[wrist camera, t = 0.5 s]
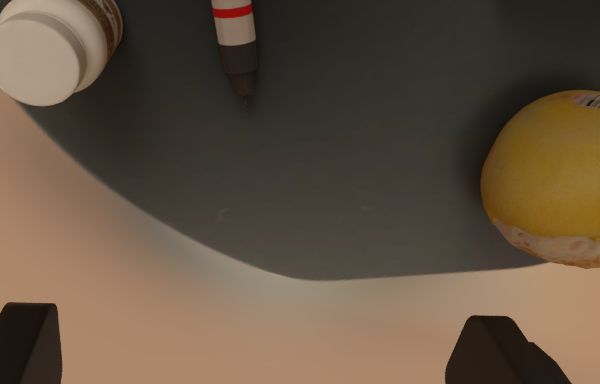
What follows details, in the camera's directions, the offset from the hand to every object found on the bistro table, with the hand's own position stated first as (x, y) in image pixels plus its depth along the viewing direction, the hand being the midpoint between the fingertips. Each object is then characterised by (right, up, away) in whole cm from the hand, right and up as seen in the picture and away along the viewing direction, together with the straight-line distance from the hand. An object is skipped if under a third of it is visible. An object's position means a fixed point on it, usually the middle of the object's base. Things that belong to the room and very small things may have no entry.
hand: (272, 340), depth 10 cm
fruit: (+16, +6, +24) cm, 30 cm away
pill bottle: (-11, +12, +16) cm, 23 cm away
